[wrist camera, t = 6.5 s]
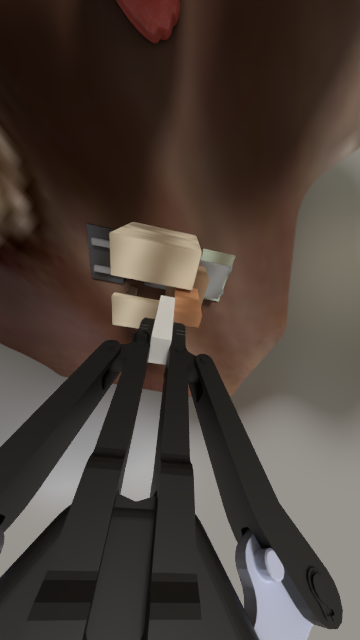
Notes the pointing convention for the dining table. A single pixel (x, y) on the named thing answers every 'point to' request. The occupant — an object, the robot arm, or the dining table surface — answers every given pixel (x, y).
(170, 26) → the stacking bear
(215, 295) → the sled
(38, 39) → the dining table surface
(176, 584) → the robot arm
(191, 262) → the tunnel
